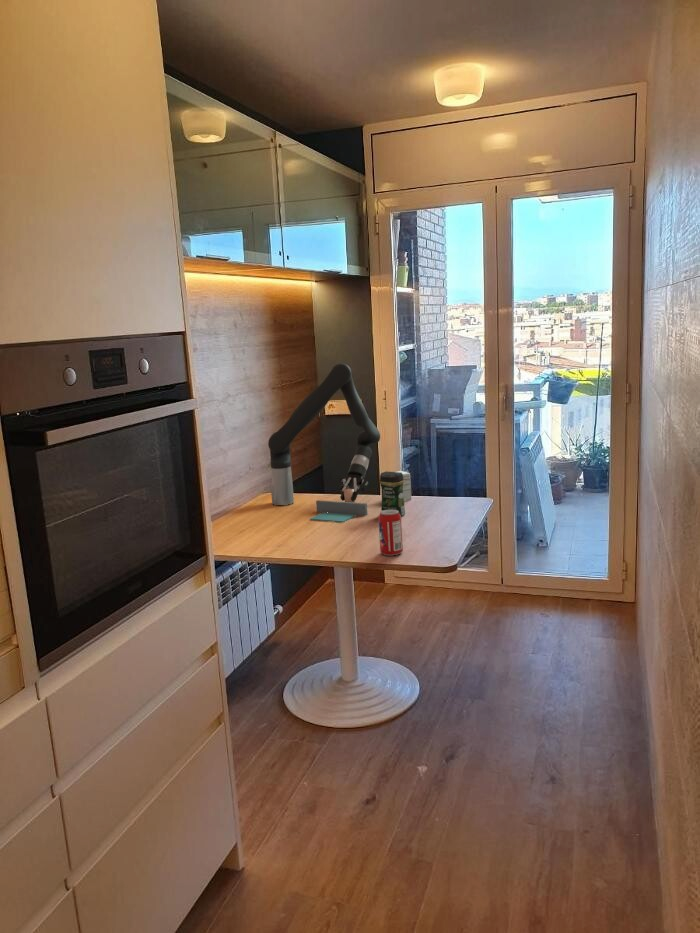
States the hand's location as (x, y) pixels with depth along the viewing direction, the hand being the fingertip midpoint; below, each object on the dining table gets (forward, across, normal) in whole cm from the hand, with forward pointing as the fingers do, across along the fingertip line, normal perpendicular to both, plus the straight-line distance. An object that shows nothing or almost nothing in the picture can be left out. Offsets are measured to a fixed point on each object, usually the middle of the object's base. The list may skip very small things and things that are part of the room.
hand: (347, 500), depth 317 cm
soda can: (+39, +45, -32) cm, 67 cm away
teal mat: (+13, 0, -6) cm, 14 cm away
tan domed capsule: (+2, 0, +5) cm, 5 cm away
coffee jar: (+6, +23, +1) cm, 24 cm away
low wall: (+7, 0, -1) cm, 7 cm away
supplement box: (-13, +15, +20) cm, 27 cm away
